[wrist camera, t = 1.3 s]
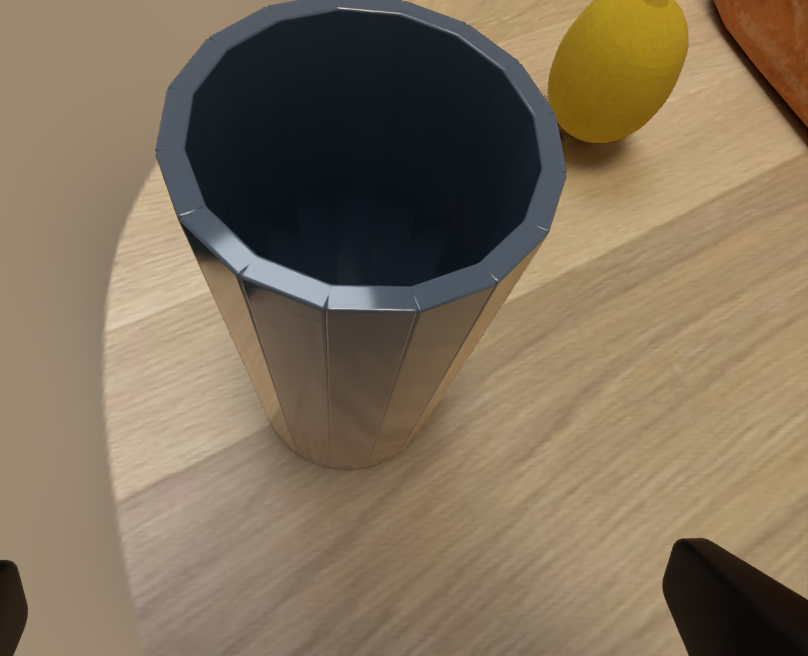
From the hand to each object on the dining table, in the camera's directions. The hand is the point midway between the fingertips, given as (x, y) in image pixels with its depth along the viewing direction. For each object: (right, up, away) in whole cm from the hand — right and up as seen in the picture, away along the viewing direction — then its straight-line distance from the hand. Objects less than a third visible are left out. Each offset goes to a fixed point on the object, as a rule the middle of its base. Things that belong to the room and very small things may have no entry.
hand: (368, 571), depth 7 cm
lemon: (+10, +14, +21) cm, 27 cm away
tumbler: (-2, +1, +14) cm, 14 cm away
